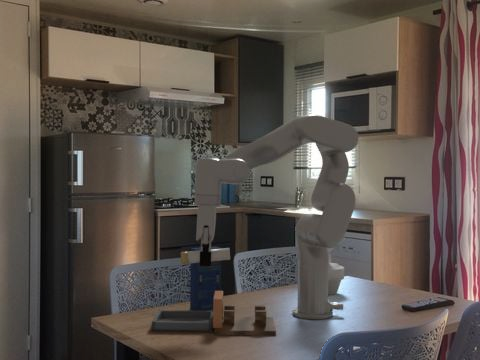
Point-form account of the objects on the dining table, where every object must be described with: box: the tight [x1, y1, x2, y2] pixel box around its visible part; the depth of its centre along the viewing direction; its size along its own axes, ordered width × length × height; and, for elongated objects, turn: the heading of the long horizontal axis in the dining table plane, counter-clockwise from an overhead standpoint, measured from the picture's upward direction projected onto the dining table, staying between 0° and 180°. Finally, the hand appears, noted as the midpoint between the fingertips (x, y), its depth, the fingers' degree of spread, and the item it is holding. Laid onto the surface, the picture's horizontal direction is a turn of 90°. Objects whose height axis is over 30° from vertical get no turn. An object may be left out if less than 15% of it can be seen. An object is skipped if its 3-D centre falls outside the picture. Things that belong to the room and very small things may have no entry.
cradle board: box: [213, 304, 277, 336], centre depth 156 cm, size 17×14×6 cm
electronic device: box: [189, 245, 222, 311], centre depth 176 cm, size 10×5×20 cm, turn 121°
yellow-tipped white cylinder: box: [180, 247, 231, 265], centre depth 157 cm, size 14×4×4 cm, turn 92°
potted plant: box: [327, 237, 346, 296], centre depth 202 cm, size 13×12×25 cm
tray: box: [151, 309, 214, 333], centre depth 158 cm, size 17×13×3 cm
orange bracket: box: [212, 290, 224, 329], centre depth 156 cm, size 2×10×8 cm, turn 0°
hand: (205, 263), depth 157 cm, fingers closed on yellow-tipped white cylinder, 3 cm apart
